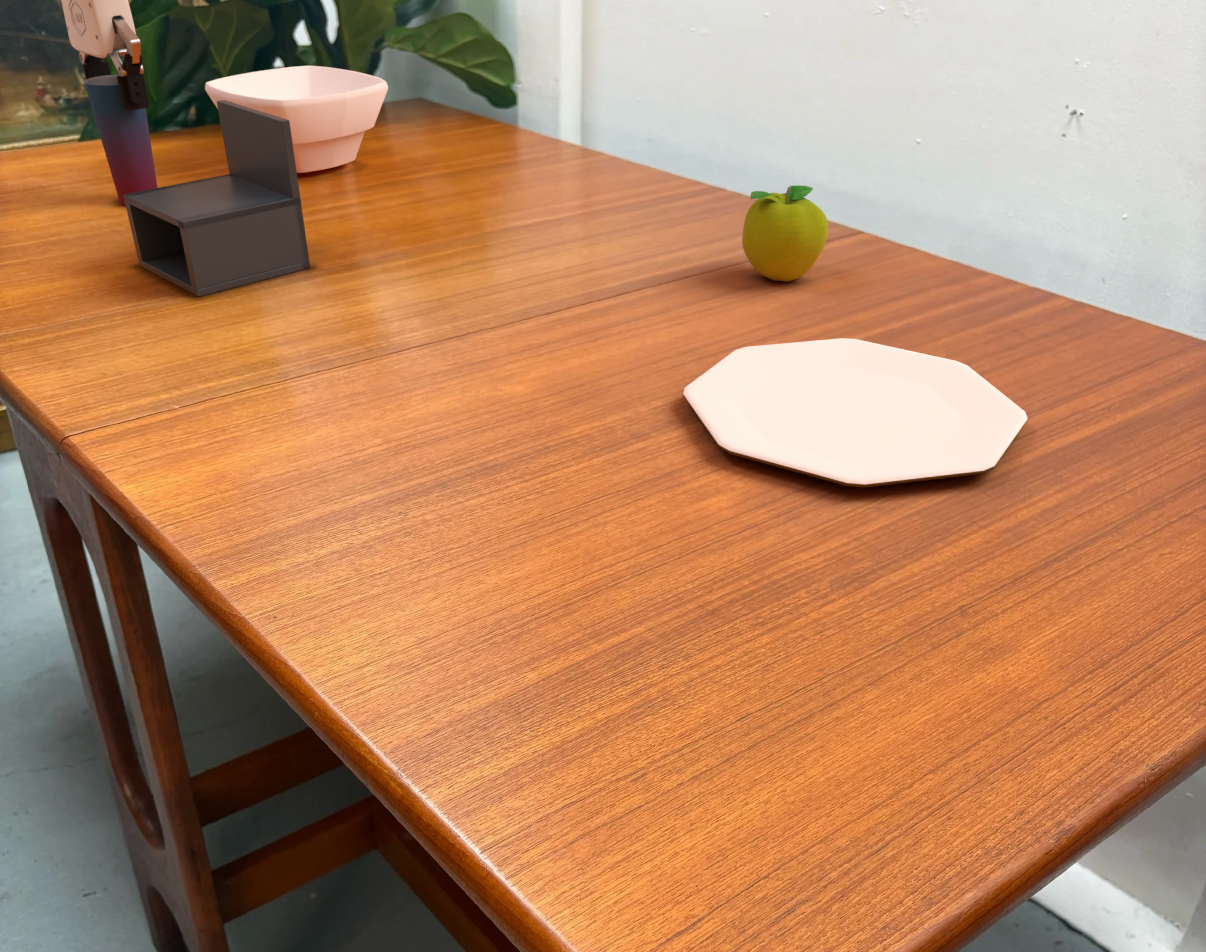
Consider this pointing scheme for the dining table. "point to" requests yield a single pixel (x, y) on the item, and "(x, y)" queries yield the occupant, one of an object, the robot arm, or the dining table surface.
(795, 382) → the plate
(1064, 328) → the dining table surface
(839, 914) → the dining table surface
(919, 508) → the dining table surface
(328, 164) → the bowl
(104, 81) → the cup
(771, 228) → the fruit
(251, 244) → the dark grey toy chair
